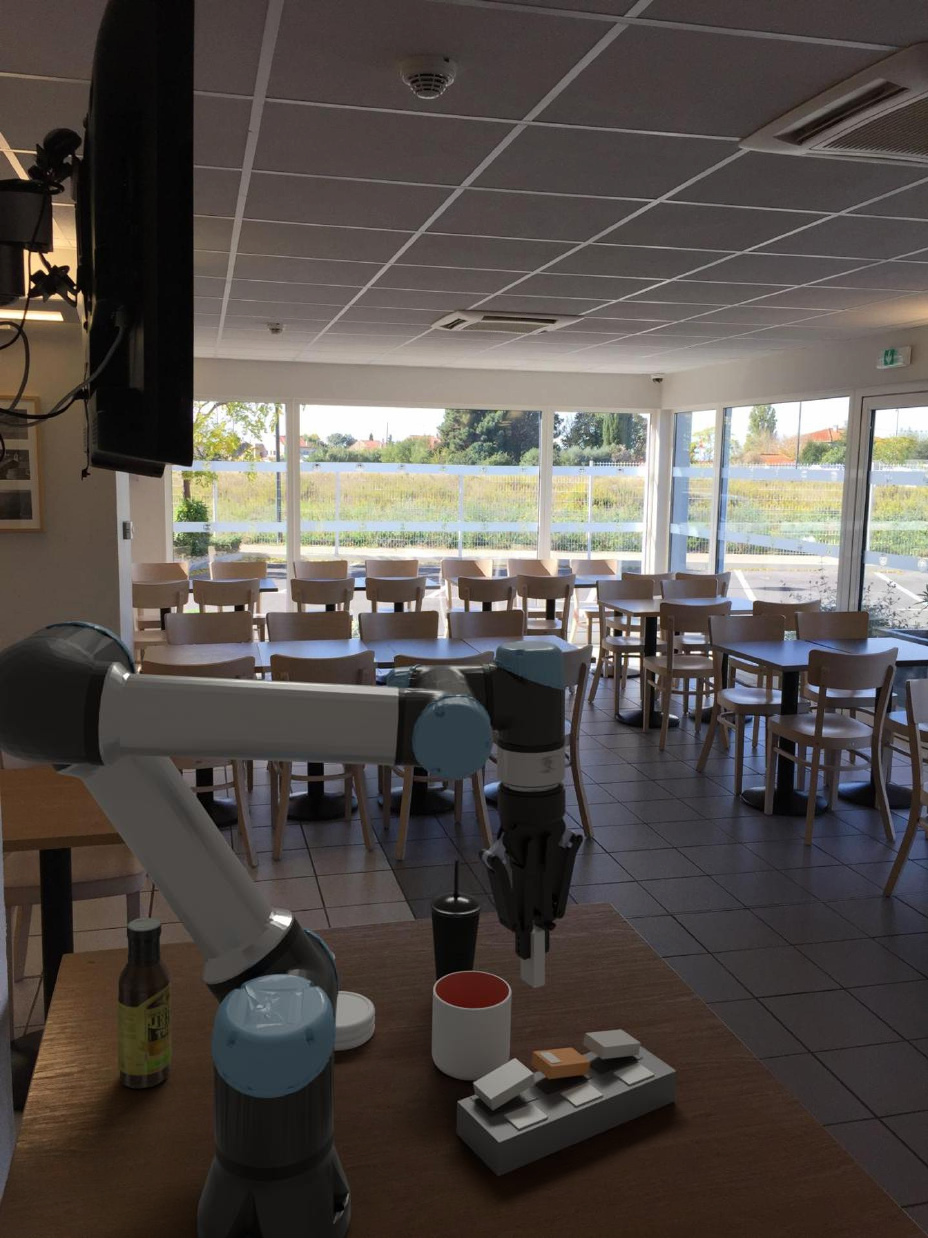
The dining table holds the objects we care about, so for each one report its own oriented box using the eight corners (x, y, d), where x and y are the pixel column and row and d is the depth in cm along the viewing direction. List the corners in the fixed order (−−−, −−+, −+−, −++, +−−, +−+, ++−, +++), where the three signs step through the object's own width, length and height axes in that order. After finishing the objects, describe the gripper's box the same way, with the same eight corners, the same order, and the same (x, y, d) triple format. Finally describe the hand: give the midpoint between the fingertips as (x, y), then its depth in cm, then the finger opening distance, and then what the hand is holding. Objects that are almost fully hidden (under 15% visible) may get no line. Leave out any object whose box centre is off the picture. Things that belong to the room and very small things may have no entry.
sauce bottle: (156, 1095, 123) (152, 939, 120) (109, 1088, 124) (104, 933, 121) (181, 1066, 129) (178, 916, 126) (136, 1059, 130) (132, 911, 128)
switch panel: (498, 1176, 110) (499, 1141, 109) (456, 1133, 117) (457, 1100, 116) (674, 1101, 124) (676, 1069, 123) (627, 1067, 131) (629, 1036, 130)
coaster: (321, 1007, 144) (321, 984, 144) (386, 1021, 141) (386, 997, 141) (286, 1044, 135) (286, 1019, 135) (355, 1059, 132) (355, 1034, 131)
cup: (502, 1090, 126) (504, 1014, 124) (423, 1079, 127) (424, 1004, 126) (514, 1046, 135) (517, 975, 134) (441, 1036, 137) (442, 966, 136)
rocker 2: (548, 1079, 118) (551, 1066, 118) (530, 1064, 121) (533, 1051, 121) (587, 1074, 122) (590, 1061, 122) (569, 1059, 125) (571, 1046, 125)
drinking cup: (462, 1011, 144) (465, 875, 141) (417, 996, 148) (419, 863, 145) (489, 989, 150) (493, 858, 147) (445, 974, 154) (448, 847, 151)
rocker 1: (492, 1110, 114) (490, 1099, 114) (474, 1094, 117) (473, 1083, 117) (535, 1084, 117) (533, 1073, 117) (516, 1069, 120) (515, 1058, 120)
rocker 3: (602, 1059, 123) (604, 1047, 123) (583, 1045, 126) (585, 1033, 126) (638, 1055, 126) (640, 1043, 126) (618, 1041, 129) (621, 1029, 129)
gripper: (500, 801, 107) (503, 1012, 110) (599, 780, 113) (598, 979, 117) (463, 783, 113) (466, 983, 116) (558, 764, 120) (559, 954, 123)
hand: (532, 981), depth 116 cm, fingers closed
